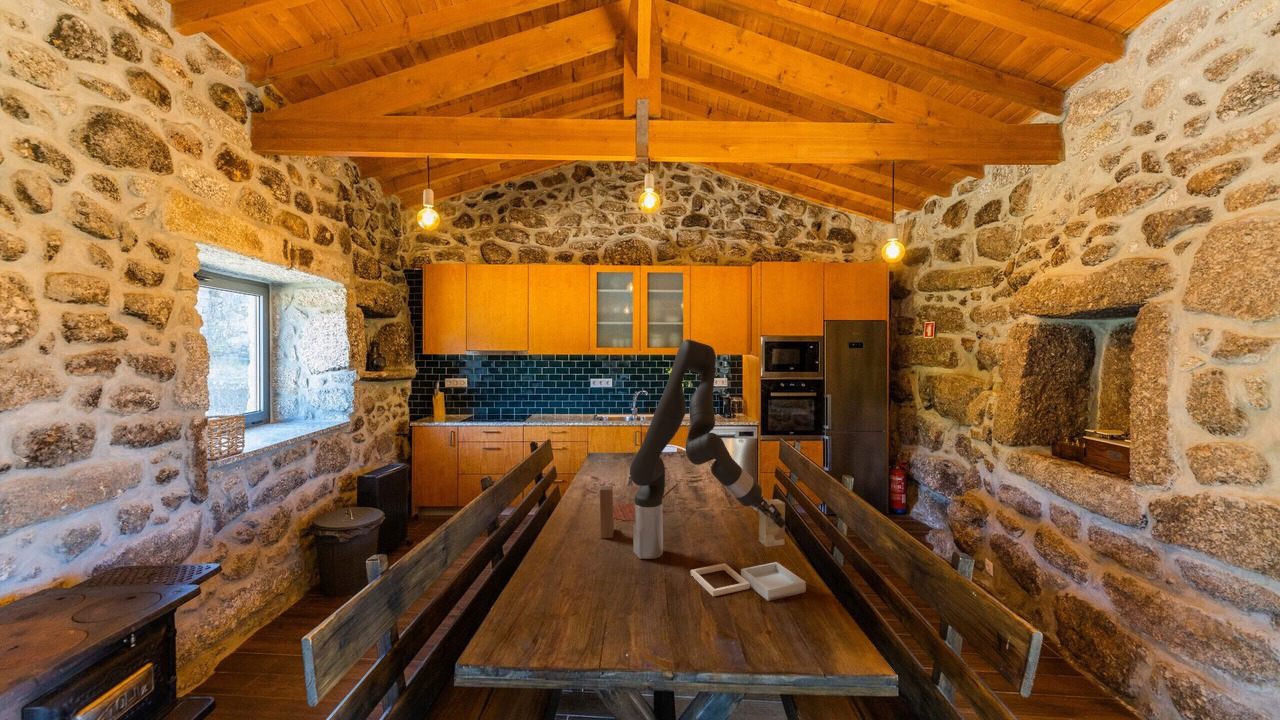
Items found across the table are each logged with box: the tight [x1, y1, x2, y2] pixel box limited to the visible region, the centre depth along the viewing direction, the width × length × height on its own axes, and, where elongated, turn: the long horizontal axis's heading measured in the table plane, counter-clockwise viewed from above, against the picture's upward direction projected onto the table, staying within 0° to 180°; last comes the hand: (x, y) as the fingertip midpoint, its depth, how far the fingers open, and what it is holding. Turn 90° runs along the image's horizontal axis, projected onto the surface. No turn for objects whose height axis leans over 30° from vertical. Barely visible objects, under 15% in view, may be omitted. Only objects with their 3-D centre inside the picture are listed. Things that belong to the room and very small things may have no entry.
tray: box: [740, 561, 807, 602], centre depth 146 cm, size 13×14×3 cm
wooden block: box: [599, 485, 615, 539], centre depth 186 cm, size 9×4×18 cm, turn 1°
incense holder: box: [613, 483, 678, 522], centre depth 209 cm, size 21×30×11 cm
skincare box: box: [758, 498, 786, 547], centre depth 145 cm, size 6×4×12 cm
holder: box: [690, 563, 751, 597], centre depth 149 cm, size 12×14×2 cm
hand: (777, 522), depth 146 cm, fingers closed on skincare box, 4 cm apart
